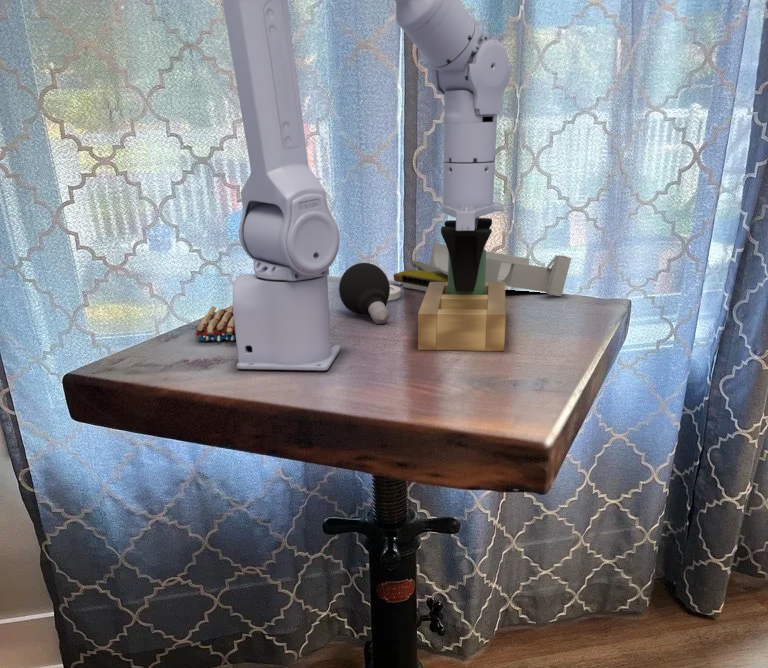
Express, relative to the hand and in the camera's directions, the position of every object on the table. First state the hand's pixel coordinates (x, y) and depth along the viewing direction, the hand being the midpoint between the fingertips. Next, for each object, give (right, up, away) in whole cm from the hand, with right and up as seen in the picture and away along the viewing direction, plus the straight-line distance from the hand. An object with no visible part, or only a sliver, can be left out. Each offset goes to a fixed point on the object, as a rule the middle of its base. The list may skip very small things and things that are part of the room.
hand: (465, 286), depth 93 cm
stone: (-4, +10, +26) cm, 28 cm away
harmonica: (-3, +7, +17) cm, 19 cm away
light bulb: (-11, -2, +6) cm, 13 cm away
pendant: (-12, +5, +17) cm, 22 cm away
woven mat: (-26, -3, 0) cm, 27 cm away
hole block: (0, -6, -1) cm, 6 cm away
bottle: (0, -3, +1) cm, 3 cm away
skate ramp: (+6, +6, +17) cm, 19 cm away
